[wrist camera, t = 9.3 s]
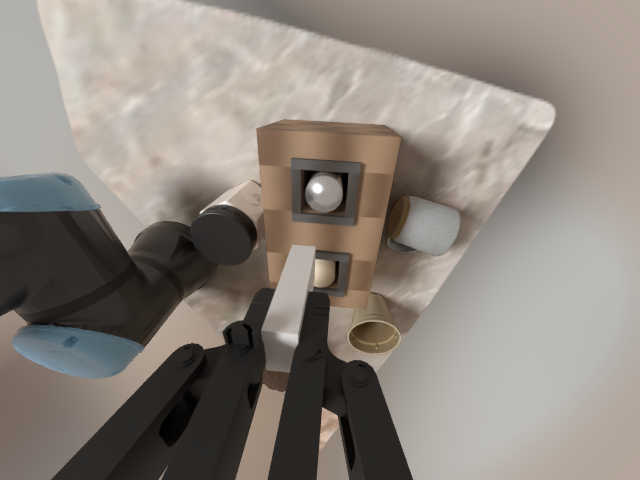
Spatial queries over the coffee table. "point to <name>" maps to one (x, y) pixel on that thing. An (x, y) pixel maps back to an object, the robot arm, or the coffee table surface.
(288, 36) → the coffee table surface
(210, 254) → the jar
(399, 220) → the ceramic mug
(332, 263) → the peg ash
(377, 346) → the flower pot
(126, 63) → the coffee table surface
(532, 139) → the coffee table surface
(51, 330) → the robot arm
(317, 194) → the peg steel
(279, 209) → the walnut block
